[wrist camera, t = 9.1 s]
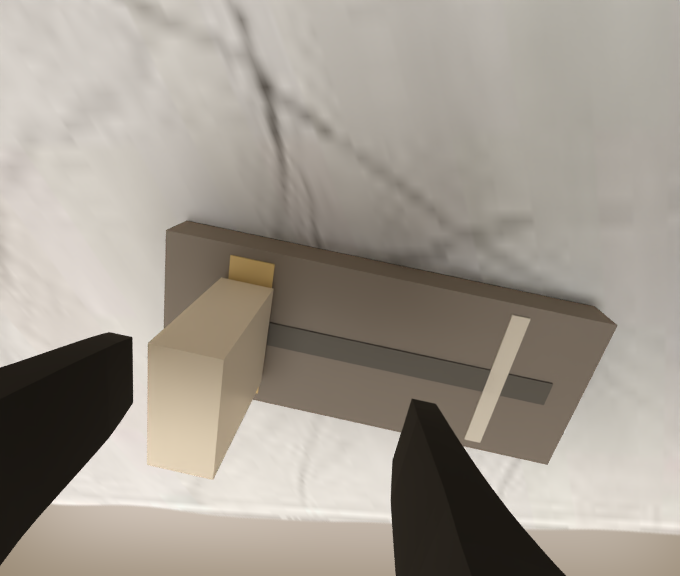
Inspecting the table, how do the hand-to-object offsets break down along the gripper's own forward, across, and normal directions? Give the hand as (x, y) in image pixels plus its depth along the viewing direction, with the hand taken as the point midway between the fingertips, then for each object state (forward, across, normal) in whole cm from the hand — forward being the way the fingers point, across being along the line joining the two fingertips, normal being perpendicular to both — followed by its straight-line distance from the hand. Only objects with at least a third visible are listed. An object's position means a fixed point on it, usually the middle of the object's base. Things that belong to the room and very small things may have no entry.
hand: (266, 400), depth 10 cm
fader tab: (+8, +3, +3) cm, 9 cm away
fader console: (+10, -3, +3) cm, 11 cm away
